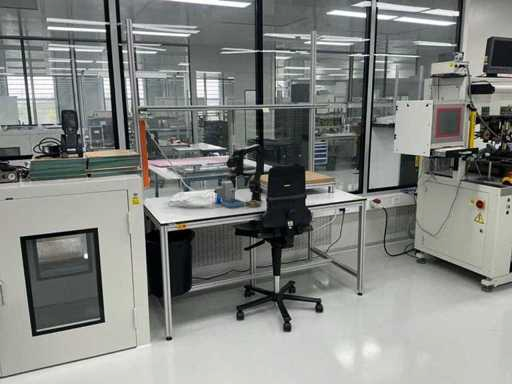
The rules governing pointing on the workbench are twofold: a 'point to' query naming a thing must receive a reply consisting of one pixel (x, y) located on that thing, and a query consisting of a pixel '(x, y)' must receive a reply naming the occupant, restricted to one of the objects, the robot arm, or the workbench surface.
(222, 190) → the circuit breaker
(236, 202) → the tray
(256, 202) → the hole block
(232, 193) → the pin
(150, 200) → the workbench surface
